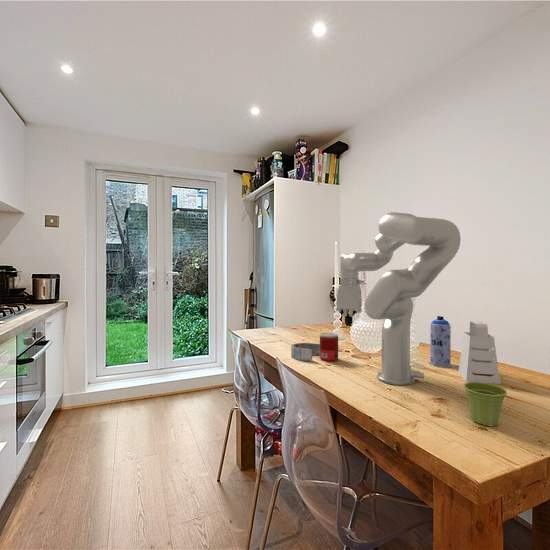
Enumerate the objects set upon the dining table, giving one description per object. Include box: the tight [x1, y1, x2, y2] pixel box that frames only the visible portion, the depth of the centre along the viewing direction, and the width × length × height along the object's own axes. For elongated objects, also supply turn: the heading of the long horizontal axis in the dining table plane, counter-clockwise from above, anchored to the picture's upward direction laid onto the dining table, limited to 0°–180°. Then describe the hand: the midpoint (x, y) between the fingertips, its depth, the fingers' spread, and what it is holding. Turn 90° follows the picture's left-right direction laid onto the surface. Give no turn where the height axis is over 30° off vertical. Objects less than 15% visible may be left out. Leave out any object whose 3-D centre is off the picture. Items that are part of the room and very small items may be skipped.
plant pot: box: [463, 382, 508, 426], centre depth 86 cm, size 9×9×9 cm
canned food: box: [319, 332, 339, 363], centre depth 145 cm, size 8×8×11 cm
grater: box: [457, 321, 501, 385], centre depth 120 cm, size 10×10×20 cm
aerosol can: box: [429, 315, 452, 368], centre depth 137 cm, size 8×8×20 cm
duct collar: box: [290, 342, 320, 362], centre depth 150 cm, size 11×13×5 cm
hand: (348, 325), depth 142 cm, fingers closed
